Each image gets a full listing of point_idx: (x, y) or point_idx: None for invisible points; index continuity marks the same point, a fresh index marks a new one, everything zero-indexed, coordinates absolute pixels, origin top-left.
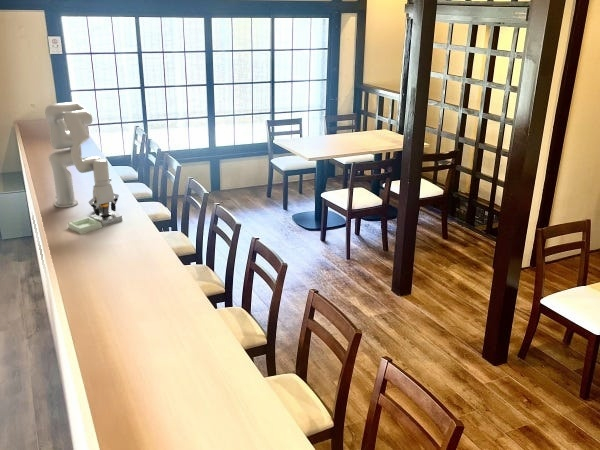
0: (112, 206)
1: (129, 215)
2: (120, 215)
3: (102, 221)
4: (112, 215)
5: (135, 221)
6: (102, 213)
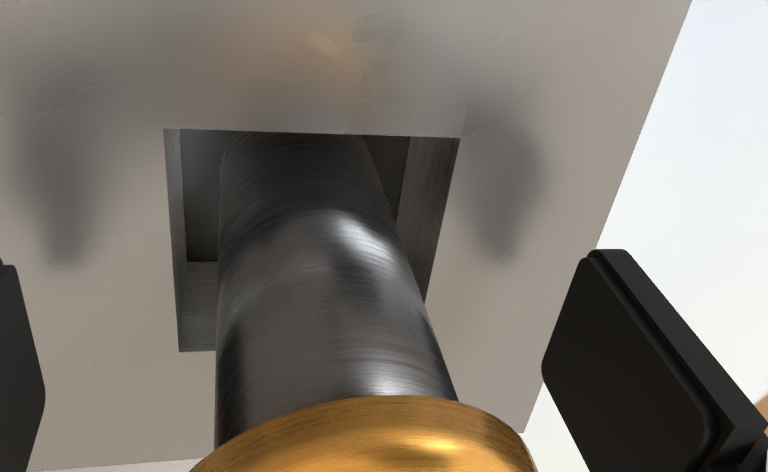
0: (620, 425)
1: (764, 228)
2: (517, 416)
3: (38, 465)
4: None
5: (564, 457)
6: (217, 307)
